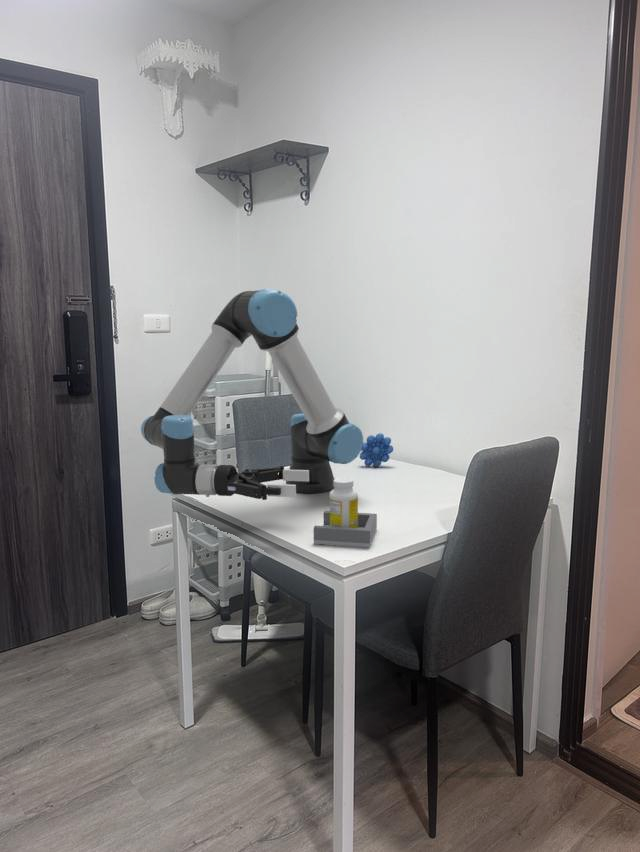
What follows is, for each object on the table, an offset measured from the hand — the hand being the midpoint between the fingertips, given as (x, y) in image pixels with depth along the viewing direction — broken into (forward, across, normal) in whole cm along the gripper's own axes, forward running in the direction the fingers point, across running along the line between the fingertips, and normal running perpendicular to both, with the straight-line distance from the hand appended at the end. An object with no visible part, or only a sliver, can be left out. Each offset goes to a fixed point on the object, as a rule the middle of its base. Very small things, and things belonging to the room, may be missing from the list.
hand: (302, 483), depth 153 cm
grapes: (+9, -73, -14) cm, 75 cm away
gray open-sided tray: (+10, 0, -13) cm, 16 cm away
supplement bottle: (+10, 0, -12) cm, 15 cm away
